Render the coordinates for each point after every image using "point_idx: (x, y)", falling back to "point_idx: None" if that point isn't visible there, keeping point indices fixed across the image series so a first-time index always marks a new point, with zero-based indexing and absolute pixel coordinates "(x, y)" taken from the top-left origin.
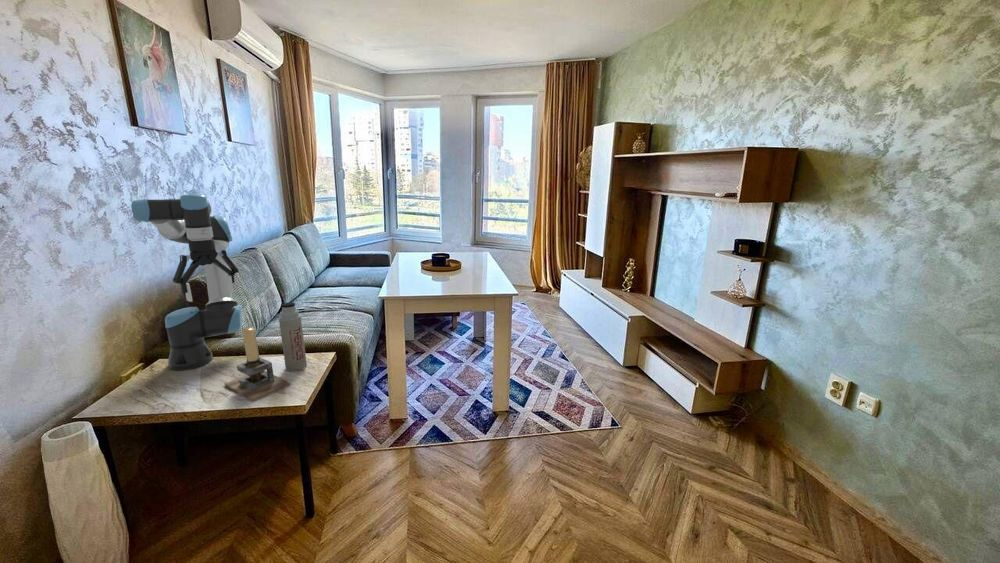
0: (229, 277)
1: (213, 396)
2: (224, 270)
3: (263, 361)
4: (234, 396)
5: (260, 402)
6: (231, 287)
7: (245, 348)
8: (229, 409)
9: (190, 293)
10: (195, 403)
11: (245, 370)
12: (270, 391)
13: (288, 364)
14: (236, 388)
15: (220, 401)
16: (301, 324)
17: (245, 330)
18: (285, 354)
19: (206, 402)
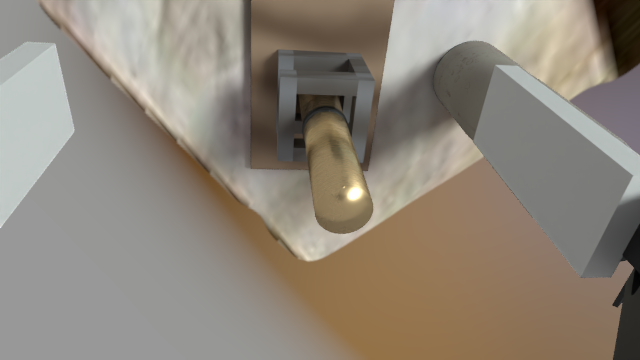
0: (571, 260)
1: (191, 31)
2: (634, 326)
3: (355, 131)
4: (234, 92)
5: (260, 184)
6: (504, 172)
7: (308, 158)
8: (190, 152)
9: (26, 182)
10: (132, 27)
11: (278, 139)
12: (305, 168)
13: (441, 95)
14: (256, 67)
15: (192, 86)
16: None
17: (326, 215)
18: (455, 103)
19: (160, 53)
